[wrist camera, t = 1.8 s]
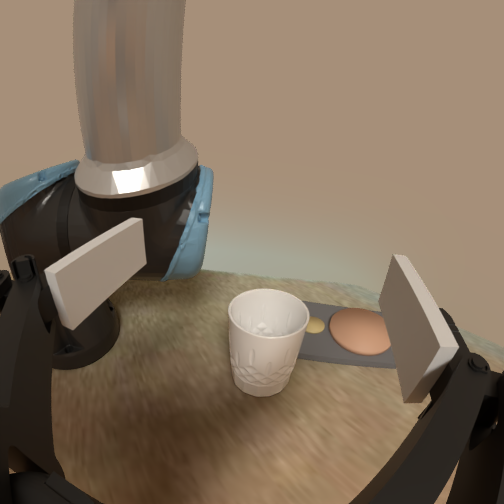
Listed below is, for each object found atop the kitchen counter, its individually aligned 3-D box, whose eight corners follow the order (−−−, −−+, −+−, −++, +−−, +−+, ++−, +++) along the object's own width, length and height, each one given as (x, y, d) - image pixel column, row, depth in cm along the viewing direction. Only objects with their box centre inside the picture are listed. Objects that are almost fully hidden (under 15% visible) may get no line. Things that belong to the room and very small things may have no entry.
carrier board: (289, 356, 33) (291, 347, 33) (297, 305, 44) (299, 296, 43) (395, 368, 31) (400, 359, 30) (383, 317, 42) (386, 308, 41)
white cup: (246, 411, 25) (253, 348, 21) (216, 363, 32) (215, 298, 27) (306, 385, 29) (326, 321, 25) (271, 345, 35) (280, 282, 31)
